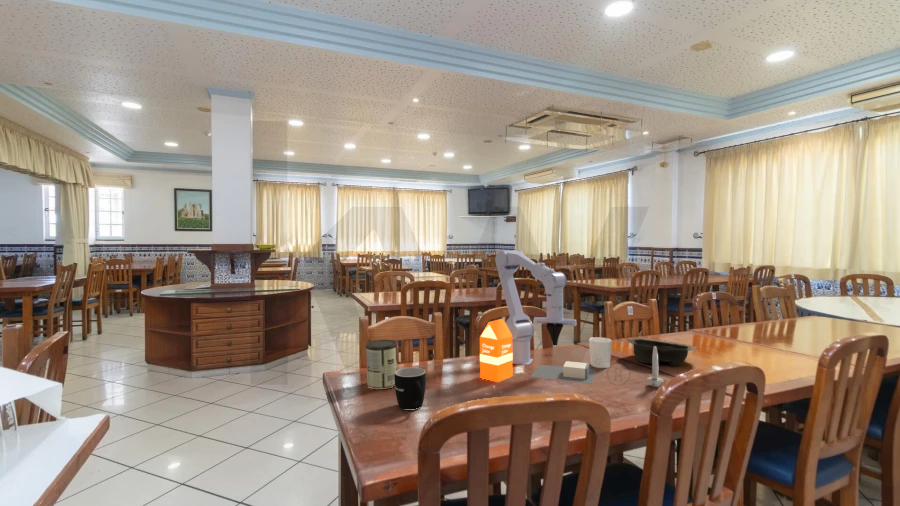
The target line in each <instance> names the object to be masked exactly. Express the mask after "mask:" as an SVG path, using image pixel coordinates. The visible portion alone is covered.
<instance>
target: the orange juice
mask: <svg viewBox="0 0 900 506" xmlns="http://www.w3.org/2000/svg"><path fill="white" fill-rule="evenodd" d="M512 360H513V353H512V334H511V332H510V330H509V329H508V327H507V325H506V321H505V320H504V318H500V319H496V320H491V321H488V322H487V324H486V326H485V328H484V330H483V331H482V333H481V334H480V336H479V368H480V369H479V379H480V378H482V379H481V380H484V379H486V380H485V381H487V380H490V381H489V382H495V383H499V382H501V381H502V382H503V381H504V380H506V379H509V378H513V374H514V373H513V372H514V371H513V367H514V366H513V362H512Z"/></svg>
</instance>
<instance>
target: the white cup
mask: <svg viewBox="0 0 900 506" xmlns="http://www.w3.org/2000/svg"><path fill="white" fill-rule="evenodd" d="M588 342H589V343H588V344H589V358H590V365H591V367H594V368H598V369H608V368H610V367H611V358H612V357H611V356H612V339H610V338H608V337H602V336H601V337H599V336H598V337H597V336H595V337H590V338H588Z"/></svg>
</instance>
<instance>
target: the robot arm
mask: <svg viewBox="0 0 900 506" xmlns="http://www.w3.org/2000/svg"><path fill="white" fill-rule="evenodd" d="M494 261H495V265H496V268H497V273H498V277H499V280H500V285H501V290H502V291H503V296H504V299H505V303H506V307H507V310H508V313H509V317H508V318H507V320H506V321H505V323H506V325H507V327H508V329H509V330H510V332H511V334H512V353H513V360H512V362H513V364H516V365H525V366H529V365H530V364H531V363H532V362H533V360H534V359H533V358H531V340H532V337H533V335H534V334H535V325H534V324H544V325H546V329H547V332H548V333H549V335H550V339H551V342H552V343H551V345H552V346H557V345H558V342H559V337H560V335H561V331H562V329H563V328H564V326H572V327H573V326H574V327H576V326H577V319H575V318H574V319H573V318H564V288H565V286H567V276H566V275H565V273H563V272H562V271H557V272H556V271H555V269H554V268H550V267H548V266H546V263H545V262H537V263H536V261H534V260H532V259H531V258H529V257H528V256H526V255H525V252H523V251H521V250H519V249H515V250H514V249H513V250H499V251H497V253H496V255H495V258H494ZM520 267H523V268H525V269H526V270H527V271H530V273H531V276H532V277H534V278H535V279H537V280H538V281H540V282H541V283H542V286H543V287H544V290H545V294H546V316H544V317H537V316H535V317H534V318H533V323H534V324H533V323H532V320H531V318H530V316H528V314H526V313H524V309H523V306H522V303H521V298H520V297H519V292H518V289H517V285H516V282H515V279H514V274H515V273H516V272H517V270H518V269H519V268H520Z"/></svg>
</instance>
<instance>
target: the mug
mask: <svg viewBox="0 0 900 506" xmlns="http://www.w3.org/2000/svg"><path fill="white" fill-rule="evenodd" d="M426 376H427V374H426V370H425V369H424V368H420V367H415V366H414V367H412V366H411V367H402V368H399V369H397V371H395V373H394V378H395V387H394V390H395V397H396V402H397V405H398V408H400V409H401V408H402V409H416V408H419V407H421V408H422V407H423V404H424V401H425V393H426V384H427V383H426V382H427V379H426V378H427V377H426ZM402 409H401V410H402ZM419 409H420V408H419Z"/></svg>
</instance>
